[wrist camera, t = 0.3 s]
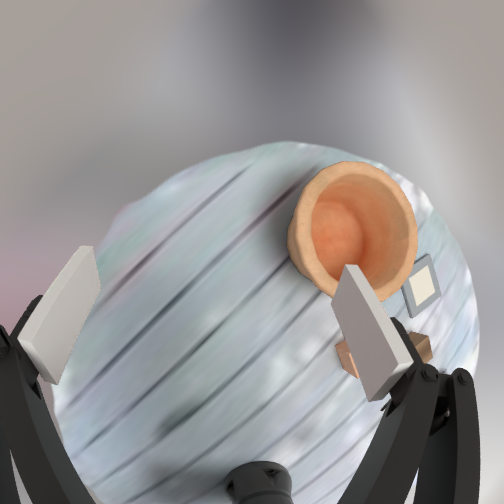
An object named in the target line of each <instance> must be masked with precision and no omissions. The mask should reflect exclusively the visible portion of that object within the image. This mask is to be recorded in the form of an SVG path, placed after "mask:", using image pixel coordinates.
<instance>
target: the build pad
mask: <svg viewBox="0 0 504 504" xmlns="http://www.w3.org/2000/svg"><path fill="white" fill-rule="evenodd" d="M401 288H402V292H403V295H404V298H405V301H406V305H407V308H408V312H409V315H410V318H414V317H415V316H417V315H418V314H419V313H420V312H422V311H423V310H424V309H425V308H427V307H428V306H429V305H430V304H432V303H433V302H434V301H435V300H436V299H438V298H439V297H440V296H441V292H440V288H439V284H438V280H437V276H436V273H435V269H434V266H433V262H432V259H431V256H430V254H426V255H425V256H424V257H422V258H421V259H419V260H418V261H416V262H415V263H414V264H413V268H412V271H411V273H410V274H409V276H408V277H407V279H406V280H405V282H404V283H403V285H402V286H401Z"/></svg>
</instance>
